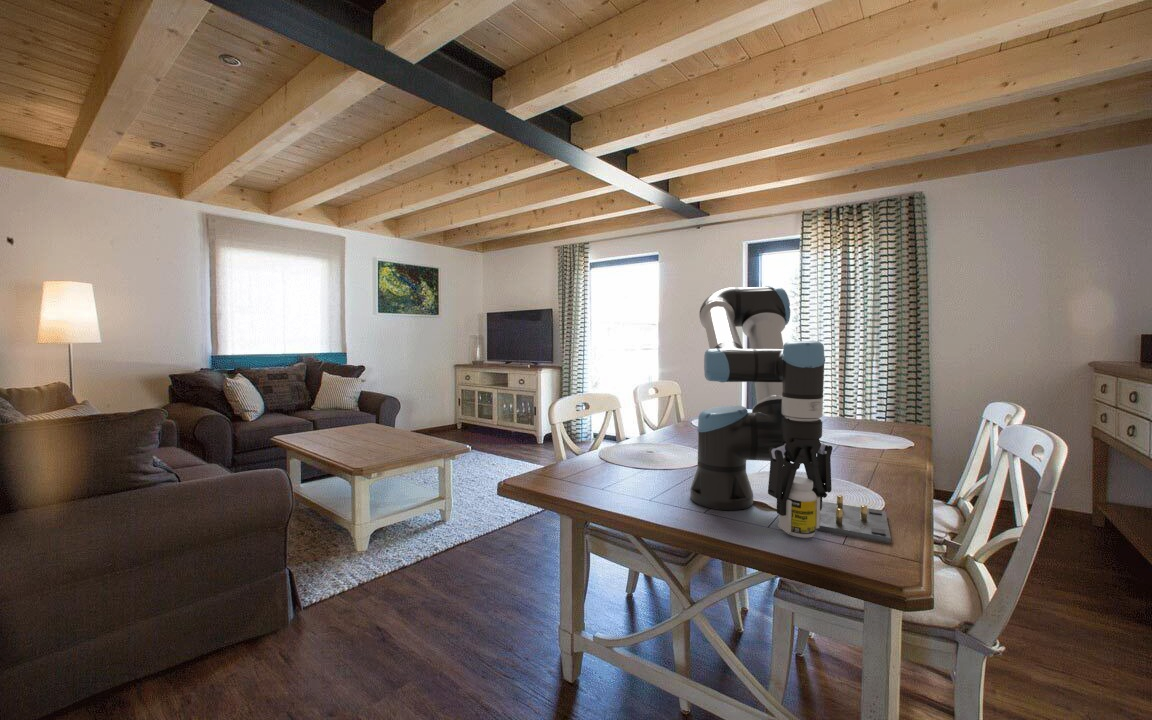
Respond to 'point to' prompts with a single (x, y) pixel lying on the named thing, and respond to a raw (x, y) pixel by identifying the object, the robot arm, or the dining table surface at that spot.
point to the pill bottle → (803, 508)
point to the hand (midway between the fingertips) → (798, 527)
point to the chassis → (854, 521)
